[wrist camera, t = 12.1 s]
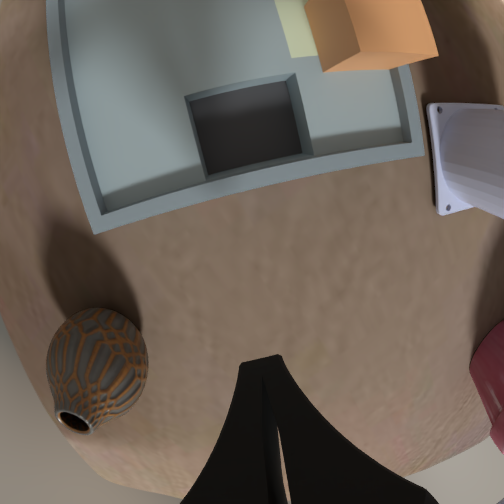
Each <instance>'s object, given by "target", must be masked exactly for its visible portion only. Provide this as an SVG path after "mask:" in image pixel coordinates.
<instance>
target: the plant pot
mask: <svg viewBox="0 0 504 504" xmlns="http://www.w3.org/2000/svg"><path fill="white" fill-rule="evenodd" d="M470 374H471V376H472V378H473V381H474V383H475V385H476V388H477V390H478V393H479V395H480V397H481V400H482V402H483V404H484V407H485V409H486V412H487V414H488V416H489V419H490V421H491V423H492V428H491V430H490V436H491V438H492V439H493V441H494V443H495V444H496V445H497V447H498V448H499V450H500V451H501V452H502V454H504V320H503V321H501V322H500V323H499V324H497V325H496V326H495V327H494V328H493V329H492V330H491V331H490V332H489V333H488V335H487V336H486V337H485V338H484V340H483V341H482V342H481V344H480V345H479V347H478V349H477V350H476V352H475V354H474V356H473V358H472V360H471V364H470Z"/></svg>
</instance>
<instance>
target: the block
mask: <svg viewBox="0 0 504 504" xmlns="http://www.w3.org/2000/svg"><path fill="white" fill-rule="evenodd" d="M304 9H305V12H306V15H307V18H308V21H309V25H310V28H311V31H312V35H313V38H314V41H315V45H316V48H317V52H318V56H319V59H320V63H321V67H322V71H323V73H324V72H337V71H353V70H389V69H392V68H396V67H399V66H403V65H406V64H409V63H413V62H417V61H420V60H424V59H428V58H432V57H436V56H439V55H438V51H437V47H436V44H435V40H434V37H433V34H432V31H431V27H430V24H429V21H428V18H427V16H426V13H425V10H424V7H423V5H422V2H421V0H308V1H307V3H306V4H305V6H304Z"/></svg>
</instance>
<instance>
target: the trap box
mask: <svg viewBox="0 0 504 504" xmlns="http://www.w3.org/2000/svg"><path fill="white" fill-rule="evenodd" d="M307 1H308V0H46V18H47V34H48V46H49V55H50V64H51V71H52V78H53V85H54V91H55V97H56V102H57V107H58V112H59V117H60V122H61V127H62V131H63V135H64V140H65V144H66V148H67V152H68V155H69V159H70V163H71V166H72V170H73V173H74V177H75V180H76V183H77V187H78V190H79V193H80V196H81V199H82V202H83V205H84V208H85V211H86V214H87V217H88V220H89V223H90V226H91V228H92V231H93V234H94V235H95V234H98V233H101V232H104V231H107V230H110V229H113V228H116V227H119V226H122V225H125V224H129V223H132V222H135V221H138V220H142V219H145V218H148V217H151V216H155V215H158V214H162V213H165V212H168V211H172V210H175V209H179V208H182V207H186V206H189V205H193V204H197V203H200V202H204V201H208V200H212V199H215V198H219V197H223V196H227V195H231V194H235V193H239V192H243V191H247V190H251V189H255V188H259V187H263V186H268V185H272V184H276V183H280V182H285V181H289V180H294V179H298V178H303V177H308V176H312V175H317V174H322V173H327V172H332V171H337V170H342V169H347V168H353V167H358V166H364V165H369V164H375V163H381V162H386V161H393V160H399V159H405V158H412V157H418V156H425V153H424V145H423V137H422V130H421V123H420V117H419V111H418V106H417V100H416V95H415V91H414V86H413V81H412V77H411V73H410V69H409V65H408V64H406V65H403V66H399V67H396V68H392V69H389V70H353V71H337V72H324V73H323V71H322V67H321V63H320V59H319V56H318V52H317V48H316V45H315V41H314V38H313V35H312V31H311V28H310V25H309V21H308V18H307V15H306V12H305V9H304V6H305V4H306V3H307Z"/></svg>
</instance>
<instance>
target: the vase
mask: <svg viewBox="0 0 504 504" xmlns="http://www.w3.org/2000/svg"><path fill="white" fill-rule="evenodd" d="M46 374H47V379H48V383H49V387H50V390H51V393H52V396H53V399H54V408H55V416H56V418H57V420H58V421H59V422H60V423H61V424H62V425H63V426H64V427H66V428H67V429H69V430H70V431H72V432H75V433H77V434H81V435H90V434H92V433H93V432H94V431H95V430H96V429H98V428H99V427H100V426H101V425H103V424H106V423H108V422H111V421H113V420H115V419H117V418H119V417H121V416H123V415H124V414H126V413H127V412H128V411H129V410H130V409H131V408H132V407H133V406H134V405H135V403H136V402H137V401H138V399H139V397H140V396H141V394H142V392H143V389H144V387H145V383H146V380H147V374H148V353H147V348H146V345H145V342H144V339H143V337H142V335H141V334H140V332H139V331H138V329H137V328H136V327H135V325H134V324H133V323H132V322H131V321H130V320H128V319H127V318H126V317H124V316H123V315H121V314H119V313H118V312H115V311H113V310H109V309H105V308H89V309H86V310H82V311H80V312H78V313H76V314H74V315H72V316H71V317H70V318H68V319H67V320H66V321H65V322H64V323H63V324H62V325H61V326H60V328H59V329H58V330H57V332H56V333H55V335H54V336H53V338H52V341H51V343H50V346H49V349H48V353H47V359H46Z"/></svg>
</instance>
